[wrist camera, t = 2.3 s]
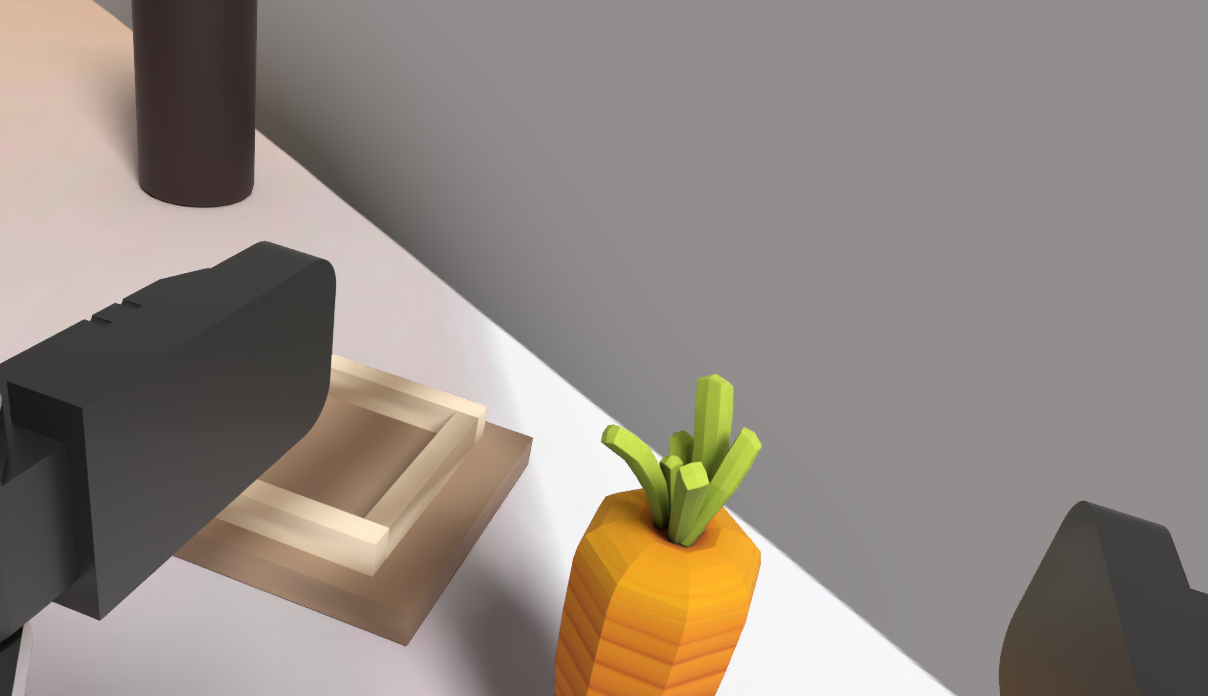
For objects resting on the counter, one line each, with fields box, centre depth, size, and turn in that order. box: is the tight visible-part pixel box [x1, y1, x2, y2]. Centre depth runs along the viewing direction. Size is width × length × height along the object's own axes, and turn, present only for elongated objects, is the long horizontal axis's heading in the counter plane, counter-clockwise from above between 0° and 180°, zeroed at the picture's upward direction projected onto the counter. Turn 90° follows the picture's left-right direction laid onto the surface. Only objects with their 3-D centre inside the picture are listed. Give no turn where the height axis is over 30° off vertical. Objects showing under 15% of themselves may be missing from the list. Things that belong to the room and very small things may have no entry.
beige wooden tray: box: [174, 354, 533, 646], centre depth 40 cm, size 14×12×3 cm
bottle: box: [132, 0, 257, 207], centre depth 58 cm, size 7×7×20 cm
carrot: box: [555, 374, 762, 696], centre depth 27 cm, size 5×5×15 cm
